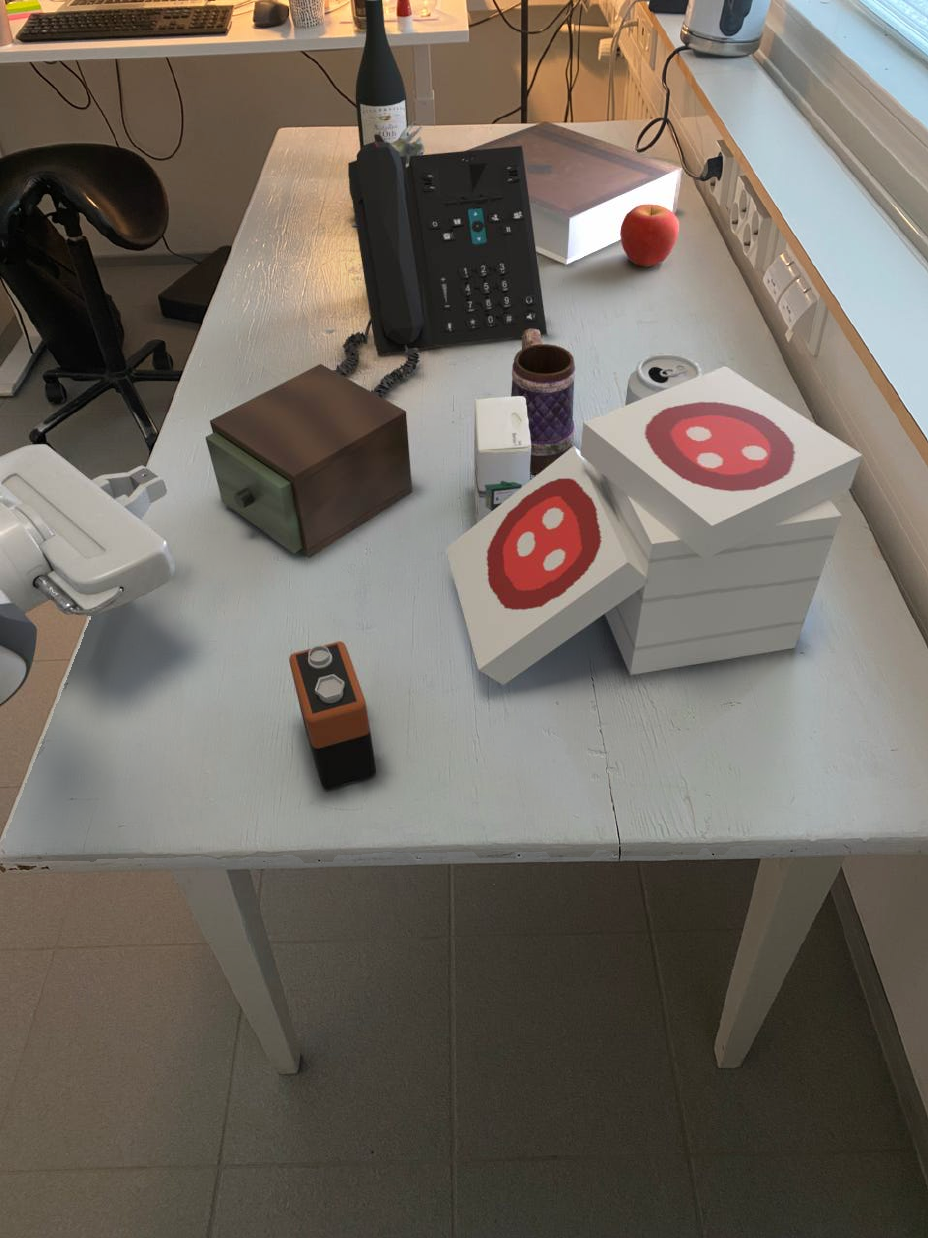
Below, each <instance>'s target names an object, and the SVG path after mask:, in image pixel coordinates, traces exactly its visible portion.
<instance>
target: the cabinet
mask: <svg viewBox="0 0 928 1238" xmlns="http://www.w3.org/2000/svg"><path fill="white" fill-rule="evenodd" d="M333 370H334V369H331V368H329V367H328V366H325V365H324V364H322V363H319V364H318V365H315V366H313V367H311V368H309V369H308V370H306V371H303V372H302V373H300V374H297V375H295V376H294V377H292V378H290V379H288V380H286V381H284V382H282V383H280V384H278V385H276V386H275V387H272V388H271V389H268V390H267V391H265V392H263V393H261V394H259V395H257V396H255V397H253V398H251V399H249V400H247V401H245V402H243V403H242V404H239V405H238V406H235V407H233V408H232V409H230V410H228V411H226V412H223V413H222V414H219V415H217V416H216V417H213V418H212V419H210V420H209V424H210V427H211V428H210V429H211V431H212V433H214V432H216V433H217V434H219V435H220V436H222V437H223V438H225V439H226V440H228V441H229V442H231V443H232V444H234V445H235V446H236V445H237V446H239V447H240V448H242V449H243V450H245V451H246V452H248V453H249V454H251V455H252V456H254V457H255V458H257V459H258V460H260V461H261V462H262V463H264V464H265V465H267V466H268V467H270V468H271V469H273V470H274V471H276V472H277V473H279V474H280V475H282V476H283V477H285V478H286V479H288V480H289V482H290V483H291V488H292V493H293V498H294V503H295V508H296V513H297V518H298V524H299V529H300V534H301V539H302V544H303V548H302V549H300V550H299V551H298V552H300V553H301V554H303V555H304V556H306V557H307V558H311V557H312V556H313V557H314V555H316V554H317V553H319V552H321V551H323V550H324V549H325V548H327V547H328V546H330V545H331V544H333V543H334V542H337V541H338V540H339V539H341V538H343V537H344V536H345V535H347V534H348V533H350V532H352V531H353V530H355V529H357V528H358V527H360V526H361V525H363V524H364V523H366V522H367V521H369V520H370V519H372V518H373V517H375V516H377V515H378V514H380V513H381V512H383V511H385V510H386V509H388V508H390V507H391V506H393V505H394V504H395V503H397V502H399V501H400V500H402V499H403V498H405V497H406V496H409V494H411V493H413V484H412V483H413V481H412V473H411V472H412V471H411V457H410V446H409V443H410V442H409V432H408V420H407V419H408V417H407V411H406V410H405V409H403V408H402V407H399V406H397V405H396V404H394V403H392V402H390V401H388V399H384V397H383V398H381V397H379V396H378V395H376V394H374V393H372V392H371V390H368V389H367V388H365V387H363V386H361V385H359V384H358V383H356V382H354V381H353V380H350V379H349V378H347V377H345V376H344V375H343V376H342V375H340V374H338V373H336V372H335V371H333Z"/></svg>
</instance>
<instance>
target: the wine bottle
mask: <svg viewBox="0 0 928 1238" xmlns="http://www.w3.org/2000/svg"><path fill="white" fill-rule="evenodd" d="M383 3H384V2H383V0H364V11H365V27H366V28H365V29H366V30H365V41H364V46H363V51H362V56H361V60H360V63H359V68H358V72H357V76H356V81H355V95H354V96H355V107H356V118H357V119H356V120H357V129H358V140H359V141H358V142H359V150H360V149H361V148H362V146H363V145H366V144H369V143H372V142H375V138H374V136H375V135H374V133H375V134H376V133H378V134H380V135H382V137H383V138H384V139H385V140H386V141H388V142H390V143H392V142H395V141H397V140H398V139H399V137H400V135H401V133H402V132H403V131H404V130H405V129H406V128H407V127H409V118H408V117H409V116H408V102H407V93H406V89H405V83H404V80H403V77H402V74H401V71H400V68H399V67H398V64H397V61H396V59H395V57H394V54H393V51H392V48H391V46H390V43H389V41H388V37H387V33H386V27H385V19H384V4H383ZM408 135H409V132H408V133H407V135H406V137H407V136H408ZM405 139H406V138H405ZM406 169H409V163H408V164H406Z"/></svg>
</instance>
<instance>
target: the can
mask: <svg viewBox="0 0 928 1238" xmlns="http://www.w3.org/2000/svg"><path fill="white" fill-rule="evenodd" d="M702 371H703V370H702V367H701V366H700V365H699V364H698V363H697V362H696V361H694V360H692V359H691V358H689V357H687V356H684V355H681V354H677V353H676V354H675V353H657V354H655V353H654V354H651V355H649V356H646V357H644V358H642V359H641V360H640V361H639V362H638V364H637V366H636V369H635V370H634V371H633V372H632V373H631V374H630V376H629V378H628V380H627V388H626V396H625V404H624V406H626V405H628V404H631V403H633V402H636V401H638V400H641V399H643V398H646V397H648V396H651V395H654V394H656V393H659V392H661V391H664V390H666V389H669V388H671V387H674V386H676V385H679V384H681V383H684V382H686V381H689V380H691V379H694V378H696V377H699V376H701V375H703V372H702Z"/></svg>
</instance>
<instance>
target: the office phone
mask: <svg viewBox="0 0 928 1238" xmlns="http://www.w3.org/2000/svg"><path fill="white" fill-rule="evenodd" d="M347 172H348V173H347V175H348V183H349V182H350V189H351V195H352V198H351V202H352V209H353V214H354V218H355V221H354V222H355V224H356V227H357V228H356V233H357V234H356V235H357V240H358V246H359V253H360V259H361V266H362V272H363V278H364V284H365V289H366V290H365V292H366V298H367V304H368V311H369V320H368V323H367V325H366V327H365V330H364V331H365V332H364V331H362V332H361V331H357V332H356V333H350V336H347V338H346V339H345V342H344V343H343V345H342V347H343V348H344V349H343V351H344V353H345V354H346V355H345V359H344V360H342V361H341V363H340V364H338V363H337V365H336V368H335V369H332V370H333V371H335V372H336V373H338V374H340V375H342V376H344V377H345V376H347V374H350V371H353V369H354V368H355V367H357V366H358V364H357V362H358V360H359V359H360V355H359V354H360V353H359V351H360V349H358V348H357V346H360V345H361V343H362V344H363V343H365V344H368V343H367V342H368V337H369V334H370V329H371V330H372V336H373V337H372V338H373V343H374V346H375V349H376V353H377V356H381V355H390V354H395V353H403V352H405V355H406V357H407V360H405V362H404V363H403V364H399V367H397V368H396V369H393V370H392V371H391V372H390V373H386V375H384V376H383V378H381V379H380V381H379V384H377V385H376V386H375V387H374V388H373V389H371V390H370V392H372V393H374V394H376V395H378V396H379V397H381V398H383V399H384V396H386V394H387V391H391V388H392V387H393V385H394V384H395V383H397V382H398V381H400V382H402V380H404V378H407V377H408V375H412V374H414V373H415V371H416V370H417V364H418V363H419V362H421V360H420V353H419V352H420V350H424V349H431V348H436V347H443V346H451V345H459V344H460V345H461V344H469V343H479V342H487V341H496V340H504V339H505V340H506V339H514V338H522V337H523V331H525V330H528V329H531V328H533V329H536V330H539V331H540V334H541V335H547V334H548V330H547V322H546V321H547V320H546V314H545V308H544V299H543V293H542V292H543V291H542V285H541V278H540V277H541V276H540V270H539V263H538V256H537V255H538V254H537V252H536V247H535V240H534V232H533V225H532V217H531V210H530V202H529V195H528V187H527V180H526V173H525V165H524V158H523V150H522V146H515V147H504V148H493V149H482V150H471V151H466V150H462V151H452V152H451V151H450V152H439V153H429V154H428V153H427V154H423V155H416V156H410V161H409V169H406V163H405V157H403V156H400V153H399V152H398V151H397V150H396V149H395V148H394V147H393V146H392V145H391V144H390V143H387V142H376V141H375V142H372V143H369V144H366V145H363V146H362V148H361V149H360V148H359V150H358V152H357V153H356V159H355V160H353V161H351V162H348V163H347ZM351 195H350V196H351Z"/></svg>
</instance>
